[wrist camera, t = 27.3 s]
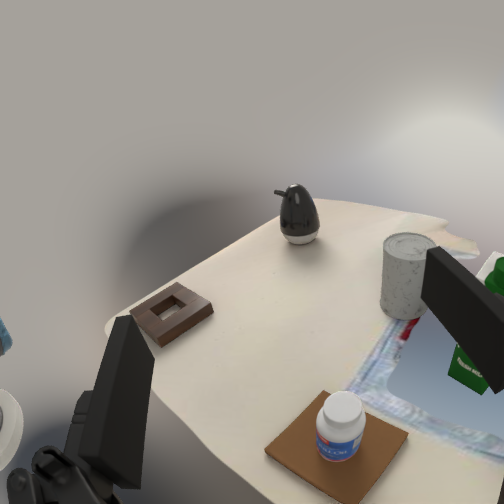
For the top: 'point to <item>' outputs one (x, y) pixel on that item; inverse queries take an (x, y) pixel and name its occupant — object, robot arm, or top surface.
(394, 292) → the concrete cylinder
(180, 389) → the top surface
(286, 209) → the black egg-shaped figure
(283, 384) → the top surface
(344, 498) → the cork pad
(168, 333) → the socket base
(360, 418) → the pill bottle
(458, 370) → the milk carton
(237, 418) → the top surface
